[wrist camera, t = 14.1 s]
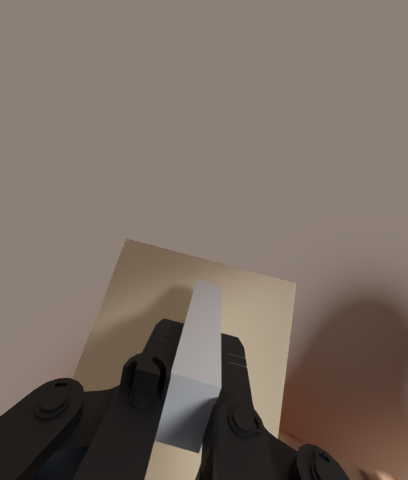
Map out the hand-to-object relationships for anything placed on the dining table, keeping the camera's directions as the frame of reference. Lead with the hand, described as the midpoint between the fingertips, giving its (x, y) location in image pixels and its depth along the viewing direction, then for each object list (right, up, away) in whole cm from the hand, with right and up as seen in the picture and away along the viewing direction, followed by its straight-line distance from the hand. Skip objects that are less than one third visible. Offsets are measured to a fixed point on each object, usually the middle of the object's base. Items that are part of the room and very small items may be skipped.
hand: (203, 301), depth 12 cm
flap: (-1, -5, +1) cm, 5 cm away
